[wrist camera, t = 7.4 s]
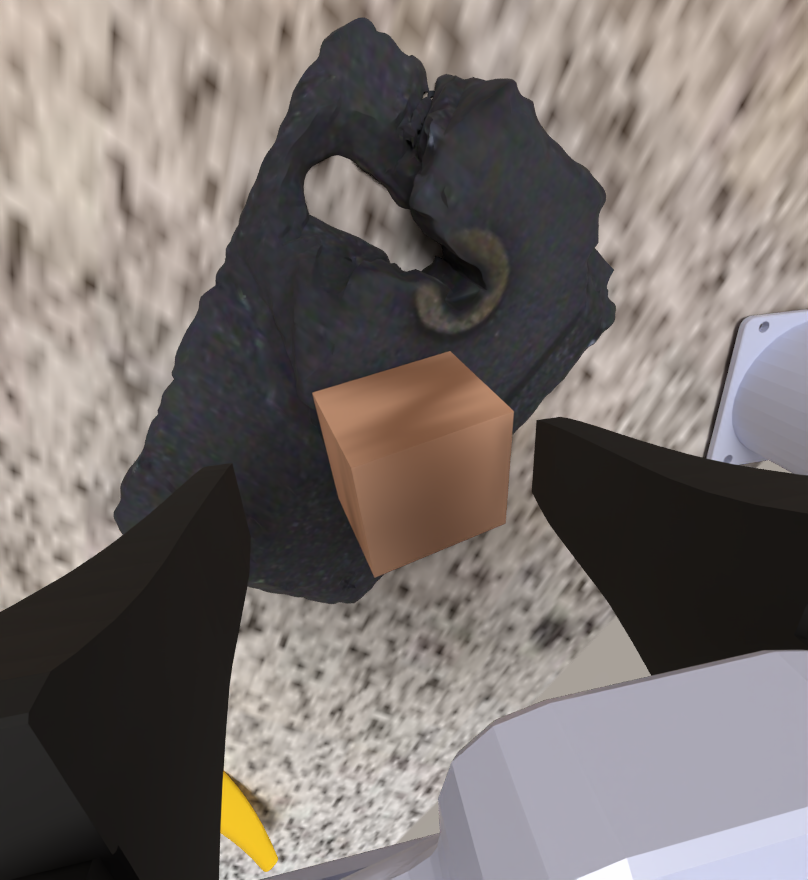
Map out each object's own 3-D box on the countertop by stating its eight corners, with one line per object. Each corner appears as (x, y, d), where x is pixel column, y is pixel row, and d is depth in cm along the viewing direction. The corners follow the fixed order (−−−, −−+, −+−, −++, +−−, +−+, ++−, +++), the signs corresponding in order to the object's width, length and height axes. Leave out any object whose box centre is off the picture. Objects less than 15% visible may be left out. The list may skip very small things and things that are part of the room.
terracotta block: (450, 350, 17) (513, 411, 14) (453, 456, 20) (505, 523, 17) (312, 392, 16) (351, 468, 13) (338, 498, 19) (374, 577, 16)
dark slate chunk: (61, 485, 21) (1, 558, 16) (367, -27, 15) (393, -113, 11) (355, 610, 27) (366, 686, 23) (644, 276, 22) (727, 294, 17)
